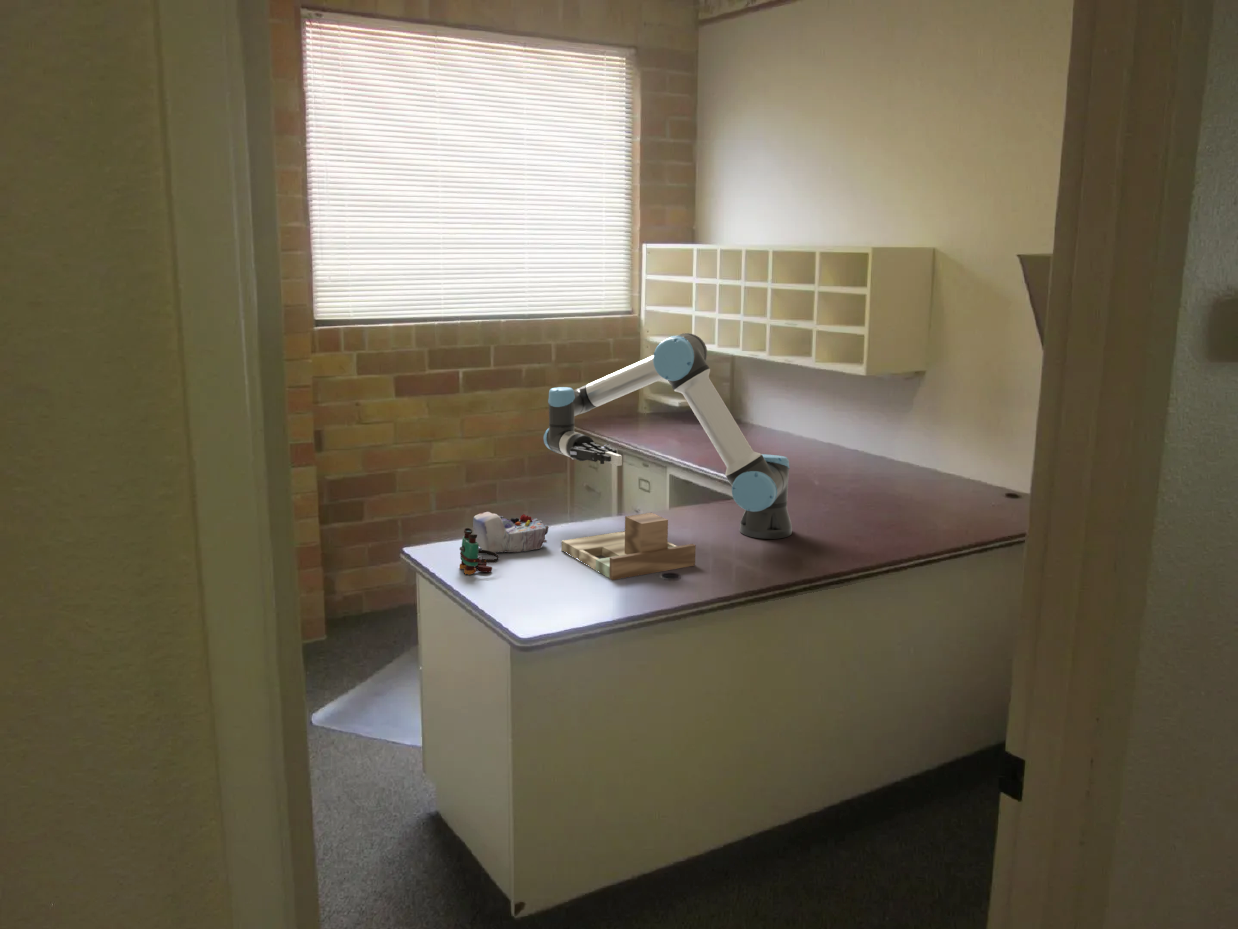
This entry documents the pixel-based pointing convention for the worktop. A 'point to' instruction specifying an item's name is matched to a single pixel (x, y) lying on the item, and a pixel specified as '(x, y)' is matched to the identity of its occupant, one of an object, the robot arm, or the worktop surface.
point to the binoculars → (474, 555)
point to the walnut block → (645, 533)
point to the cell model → (508, 533)
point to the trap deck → (626, 556)
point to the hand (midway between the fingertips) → (619, 460)
